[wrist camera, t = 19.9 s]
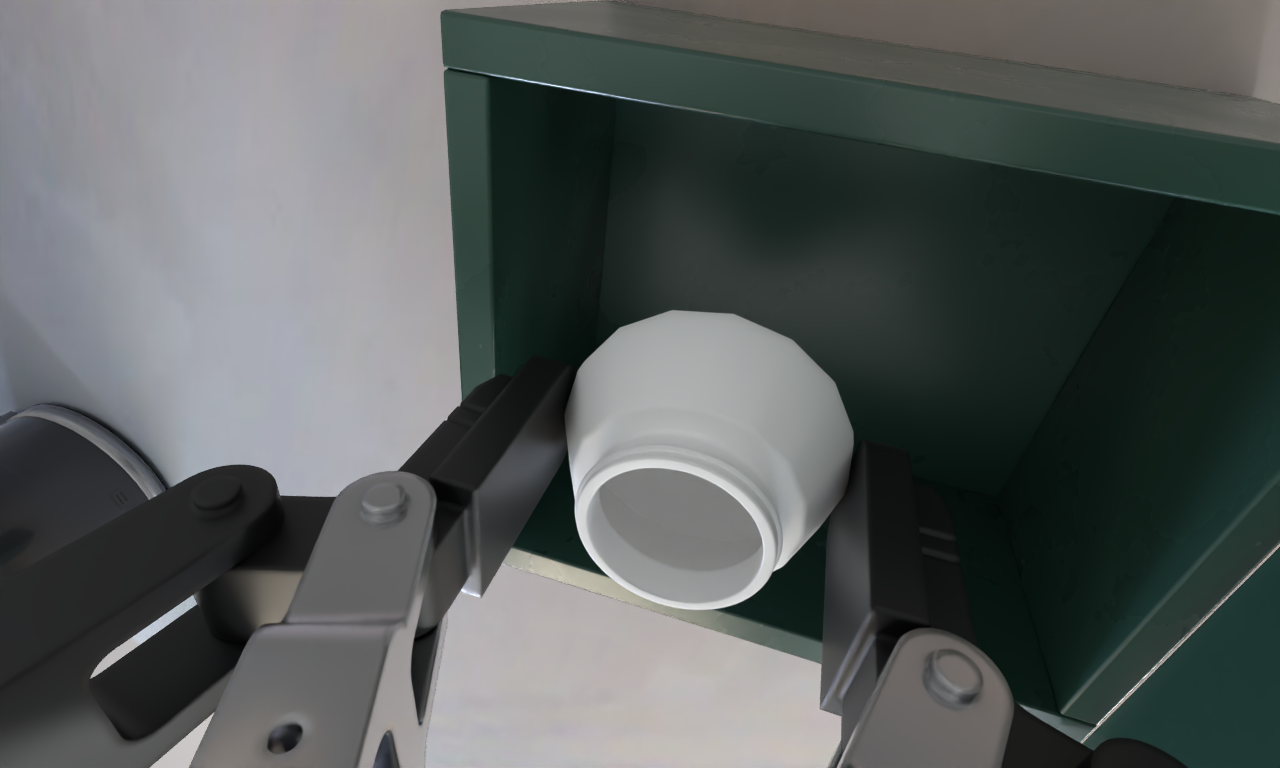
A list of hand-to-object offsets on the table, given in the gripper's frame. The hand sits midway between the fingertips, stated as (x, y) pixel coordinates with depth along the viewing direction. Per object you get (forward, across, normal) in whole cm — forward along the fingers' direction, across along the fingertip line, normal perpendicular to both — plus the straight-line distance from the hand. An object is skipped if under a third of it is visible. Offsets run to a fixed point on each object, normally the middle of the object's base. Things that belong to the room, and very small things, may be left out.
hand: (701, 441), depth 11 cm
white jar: (+1, 0, 0) cm, 1 cm away
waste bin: (+9, -2, 0) cm, 9 cm away
